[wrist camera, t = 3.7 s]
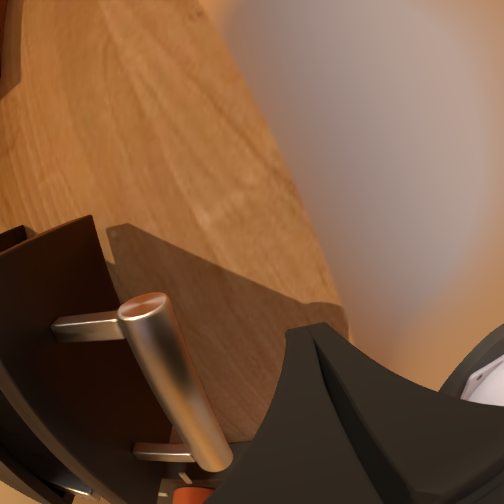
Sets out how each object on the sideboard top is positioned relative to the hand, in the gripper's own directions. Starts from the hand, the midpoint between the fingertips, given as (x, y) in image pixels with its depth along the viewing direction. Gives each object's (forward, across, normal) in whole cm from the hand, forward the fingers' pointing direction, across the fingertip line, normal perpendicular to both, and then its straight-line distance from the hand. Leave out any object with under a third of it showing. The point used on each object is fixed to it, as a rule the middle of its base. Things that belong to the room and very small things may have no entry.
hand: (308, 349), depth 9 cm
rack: (+3, +13, 0) cm, 13 cm away
